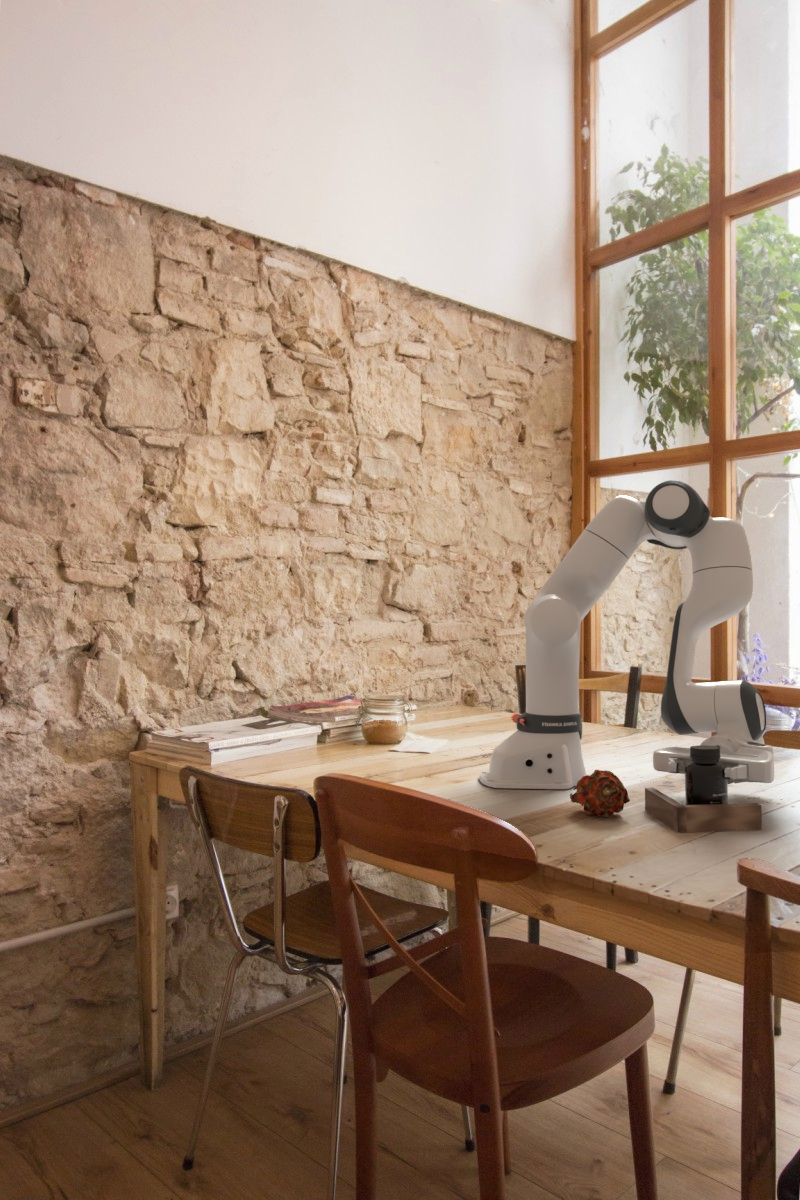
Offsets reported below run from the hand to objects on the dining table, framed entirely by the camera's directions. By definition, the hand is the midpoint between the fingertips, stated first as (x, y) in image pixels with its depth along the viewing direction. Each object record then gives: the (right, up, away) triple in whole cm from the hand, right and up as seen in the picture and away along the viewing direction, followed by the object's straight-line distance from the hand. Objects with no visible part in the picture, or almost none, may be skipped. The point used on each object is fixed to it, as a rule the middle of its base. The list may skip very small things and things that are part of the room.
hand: (699, 771), depth 145 cm
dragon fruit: (-16, -9, +6) cm, 19 cm away
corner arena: (+1, -8, +1) cm, 9 cm away
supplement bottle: (+1, -8, 0) cm, 8 cm away
